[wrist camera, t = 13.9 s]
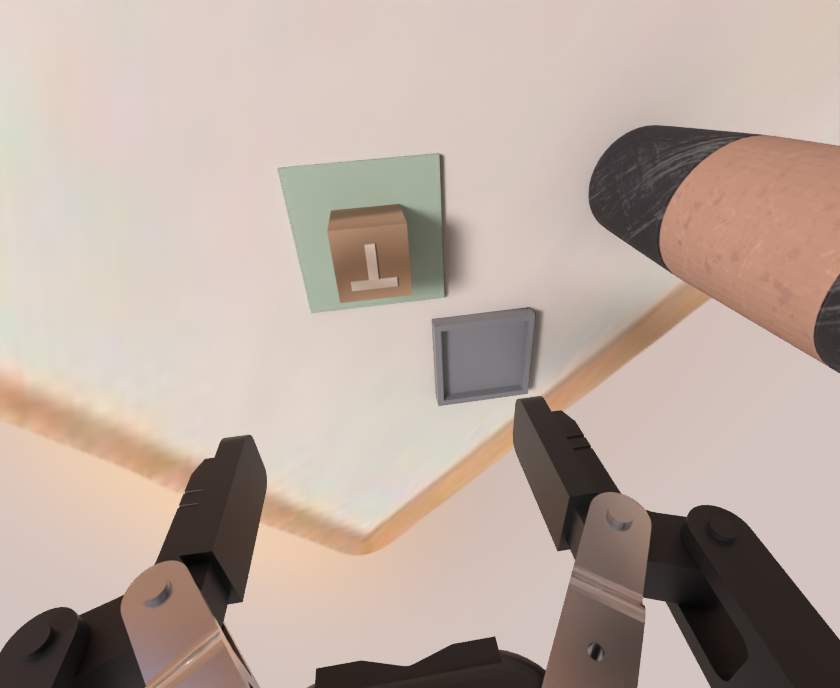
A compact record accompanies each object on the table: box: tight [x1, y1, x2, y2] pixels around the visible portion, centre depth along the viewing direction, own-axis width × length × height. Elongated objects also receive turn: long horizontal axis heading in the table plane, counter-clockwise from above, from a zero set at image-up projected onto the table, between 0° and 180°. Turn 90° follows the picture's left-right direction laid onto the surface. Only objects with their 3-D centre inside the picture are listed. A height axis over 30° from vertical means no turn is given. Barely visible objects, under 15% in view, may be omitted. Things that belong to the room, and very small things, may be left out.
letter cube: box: [327, 204, 412, 303], centre depth 27 cm, size 5×4×5 cm
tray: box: [432, 307, 535, 406], centre depth 35 cm, size 8×8×1 cm
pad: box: [278, 153, 444, 313], centre depth 29 cm, size 10×10×1 cm
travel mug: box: [589, 125, 840, 373], centre depth 21 cm, size 8×8×20 cm
